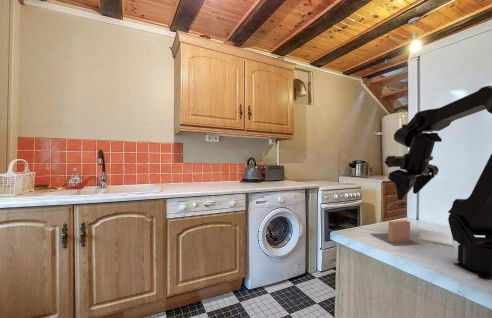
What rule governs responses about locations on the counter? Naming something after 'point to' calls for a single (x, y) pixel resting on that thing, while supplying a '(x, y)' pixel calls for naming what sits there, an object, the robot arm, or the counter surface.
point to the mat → (385, 238)
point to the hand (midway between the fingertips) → (407, 196)
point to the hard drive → (436, 237)
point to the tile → (399, 231)
